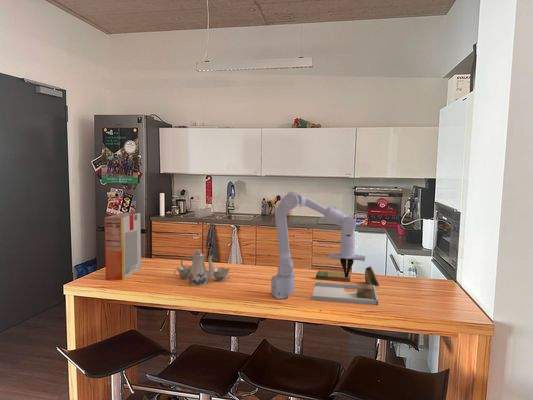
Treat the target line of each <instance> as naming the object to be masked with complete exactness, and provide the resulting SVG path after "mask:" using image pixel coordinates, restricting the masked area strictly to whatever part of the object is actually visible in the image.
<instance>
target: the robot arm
mask: <svg viewBox="0 0 533 400" xmlns="http://www.w3.org/2000/svg"><path fill="white" fill-rule="evenodd" d="M298 205H299V206H298ZM297 207H299V208H300V207H301V208H302V207H308V208H309V209H311V210H314V211H315V212H317V213H319V214H322V215H323V218H324V219H325V220H327V221H328V222H330V223H332V224H335V226H341V231H340V246H339V247H340V248H339V249H340V251H339V253H329V257H328V259H329V260H339V261H340V265H341V268H342V269H343V273H344V274H345V277H348V275H349V273H350V271H351V269H352V266H353V265H354V261H361V262H366V255H363V254H362V255H360V254H355V240H356V239H355V238H356V233H355V231H356V227H357V222H356V220H355V218H354V217H352V216H351V215H350V214H348V213H347V212H343V211H341V210H339V209H338V208H337V207H336V206H329V207H326V206H324V205H323V204H321V203H319V202H317V201H315V200H313V199H311V198H310V197H308V196H306V195H303V194H299V193H297V192H295V191H290V192H287V193H286V194H285V195H284V196H283V197H282V198H281V199H280V202H279V203H278V205H277V207H276V209H275V211H274V215H275V216H274V217H275V225H276V235H277V238H276V239H277V243H278V244H277V245H278V255H279V256H278V261H279V263H278V267H277V272H276V273H277V274H276V275H272V276H271V281H270V283H271V284H270V294H271V295H272V296H273V297H274V298H275V299H276V300H280V299H288V297H289V296H290V295H293V294H294V293H295V273H294V272H293V271H294V260H293V259H292V255H291V250H290V240H289V238H290V237H289V232H288V231H289V230H288V229H289V228H288V220H287V219H288V218H287V215H288V214H289V212H290V211H291V210H294V208H297Z"/></svg>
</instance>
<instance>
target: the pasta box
mask: <svg viewBox="0 0 533 400" xmlns="http://www.w3.org/2000/svg"><path fill="white" fill-rule="evenodd" d="M141 225H142V224H141V212H128V211H127V212H122V213H118V214H114V215H110V216H105V217H104V252H105V254H104V255H105V256H104V257H105V259H104V260H105V262H104V263H105V280H106V281H107V280H108V281H109V280H111V281H112V280H113V281H115V280H116V281H123V280H125V279H126V278H128V277H129V276H131V275H132V274H134V273H135V272H137V271H138V270H141V268H142V244H141V243H142V242H141V241H142V239H141V238H142V236H141V234H142V233H141V231H142V230H141Z"/></svg>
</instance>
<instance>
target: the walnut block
mask: <svg viewBox="0 0 533 400" xmlns="http://www.w3.org/2000/svg"><path fill="white" fill-rule="evenodd" d="M356 285H357V298H369V299H372V298H373V288H372V286H373V285H370V284H364V283H363V284H362V283H357V284H356Z"/></svg>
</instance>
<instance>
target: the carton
mask: <svg viewBox="0 0 533 400" xmlns="http://www.w3.org/2000/svg"><path fill="white" fill-rule="evenodd" d="M315 280H318V281H319V280H321V281H330V282H331V281H333V282H344V283H350V282H351V273H350V272H349V275H348V277H345V274H344V271H343V272H338V271H327V270H318V271H317V272H316V274H315Z"/></svg>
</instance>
